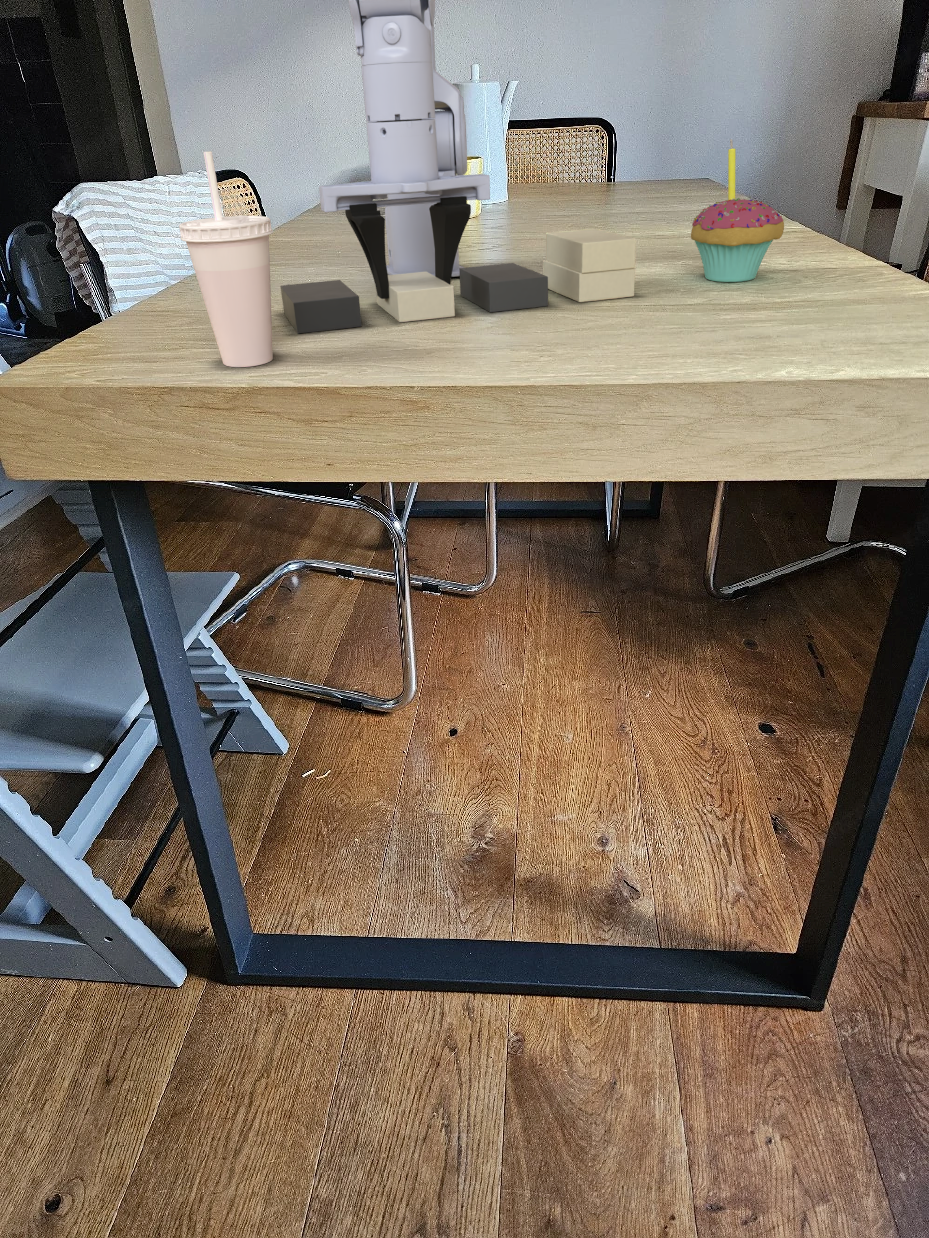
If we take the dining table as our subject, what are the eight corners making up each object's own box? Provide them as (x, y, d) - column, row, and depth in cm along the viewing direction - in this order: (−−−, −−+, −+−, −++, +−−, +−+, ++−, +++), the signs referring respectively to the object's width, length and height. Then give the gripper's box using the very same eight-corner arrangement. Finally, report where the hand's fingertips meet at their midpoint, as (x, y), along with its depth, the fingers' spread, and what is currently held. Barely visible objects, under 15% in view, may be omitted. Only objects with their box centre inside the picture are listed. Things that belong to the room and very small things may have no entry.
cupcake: (669, 277, 89) (678, 141, 83) (737, 267, 92) (751, 136, 86) (725, 289, 82) (739, 143, 76) (796, 279, 85) (815, 137, 79)
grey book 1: (284, 314, 82) (280, 285, 80) (343, 307, 83) (339, 279, 82) (297, 333, 74) (293, 302, 73) (362, 326, 75) (358, 295, 74)
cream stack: (542, 287, 88) (542, 232, 85) (593, 281, 89) (595, 227, 86) (579, 303, 80) (581, 243, 77) (635, 296, 81) (638, 238, 79)
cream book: (377, 304, 84) (374, 276, 82) (428, 299, 85) (426, 271, 84) (399, 322, 76) (397, 292, 75) (455, 316, 77) (453, 286, 76)
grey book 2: (460, 295, 86) (459, 268, 84) (514, 290, 87) (513, 262, 86) (490, 312, 78) (489, 282, 77) (548, 306, 79) (548, 276, 78)
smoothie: (186, 367, 66) (143, 155, 59) (243, 347, 71) (209, 149, 63) (253, 375, 63) (217, 153, 56) (308, 353, 68) (280, 147, 61)
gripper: (321, 126, 68) (341, 310, 75) (499, 116, 71) (503, 293, 78) (307, 125, 74) (327, 296, 81) (473, 116, 77) (479, 280, 84)
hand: (413, 294), depth 80 cm, fingers closed on cream book, 5 cm apart
